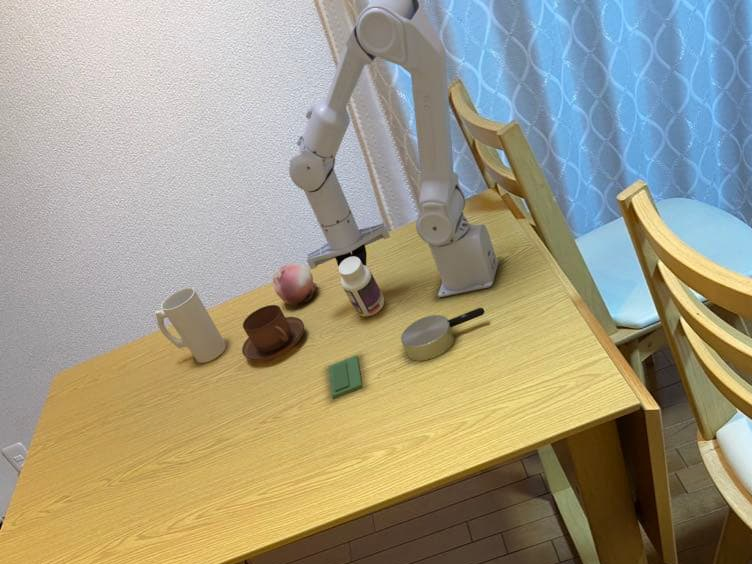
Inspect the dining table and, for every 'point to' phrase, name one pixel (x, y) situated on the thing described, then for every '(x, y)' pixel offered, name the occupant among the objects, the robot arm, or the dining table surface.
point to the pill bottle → (360, 286)
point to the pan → (433, 335)
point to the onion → (294, 284)
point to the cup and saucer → (270, 333)
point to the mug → (191, 325)
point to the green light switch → (345, 377)
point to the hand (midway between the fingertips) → (366, 287)
